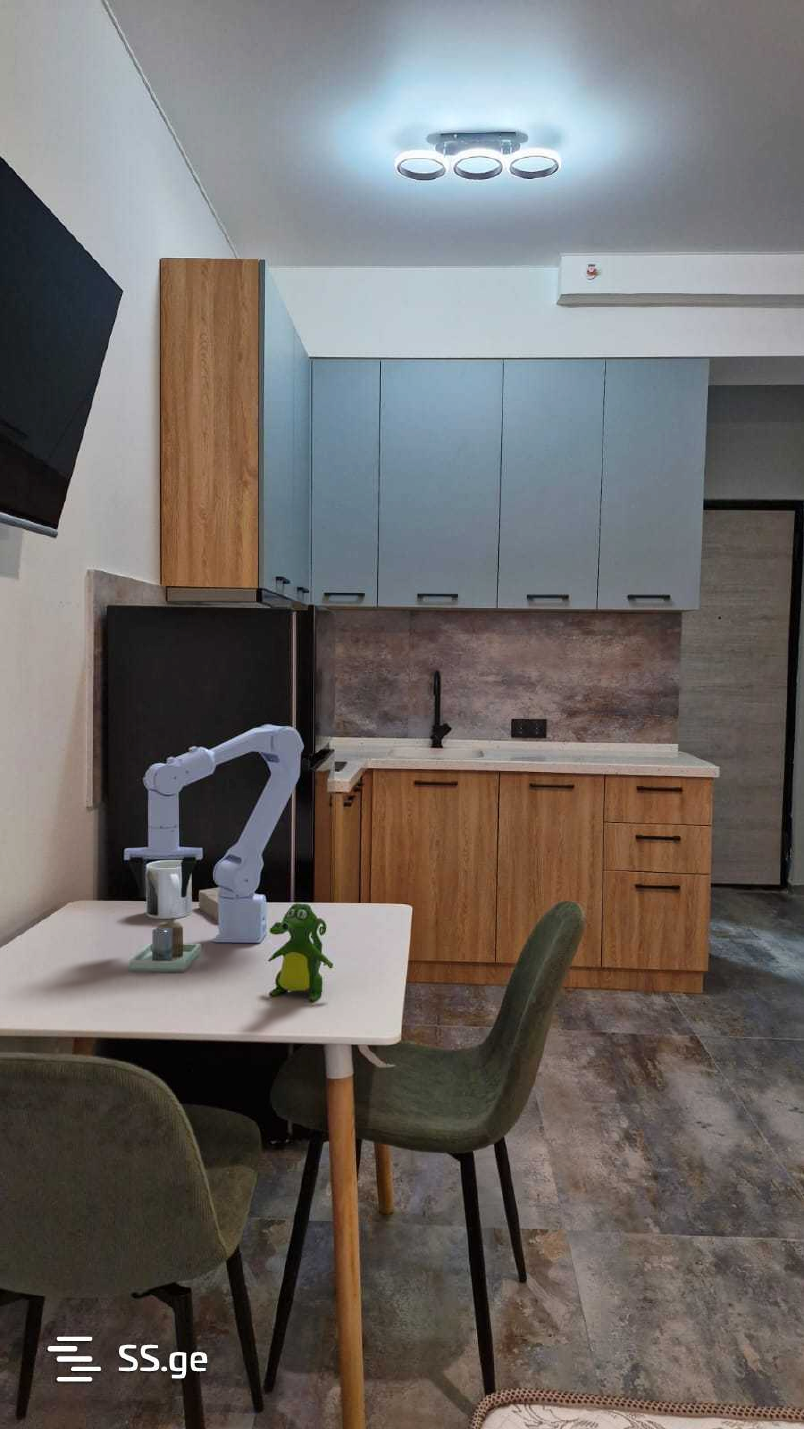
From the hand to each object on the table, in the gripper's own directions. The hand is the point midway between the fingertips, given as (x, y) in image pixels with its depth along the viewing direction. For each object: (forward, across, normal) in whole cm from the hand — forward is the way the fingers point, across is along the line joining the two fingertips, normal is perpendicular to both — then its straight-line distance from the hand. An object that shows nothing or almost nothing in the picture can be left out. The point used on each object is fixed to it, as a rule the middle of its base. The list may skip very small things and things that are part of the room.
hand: (163, 896), depth 194 cm
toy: (+10, -27, +27) cm, 40 cm away
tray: (+10, -2, +8) cm, 13 cm away
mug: (+10, +3, -28) cm, 30 cm away
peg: (+10, -2, +11) cm, 15 cm away
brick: (+11, -9, -28) cm, 32 cm away
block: (+10, -2, +6) cm, 11 cm away
